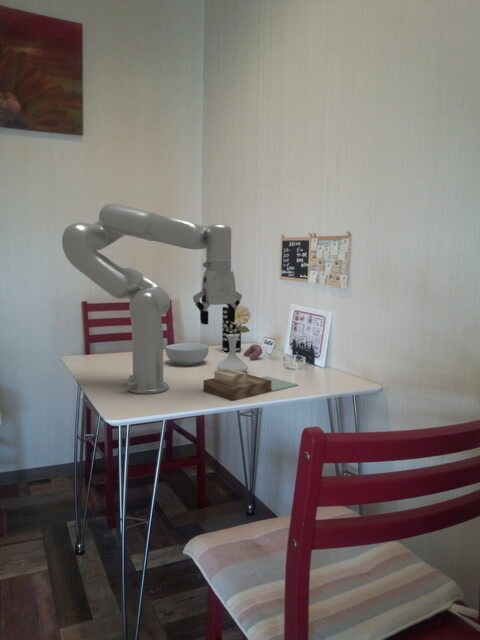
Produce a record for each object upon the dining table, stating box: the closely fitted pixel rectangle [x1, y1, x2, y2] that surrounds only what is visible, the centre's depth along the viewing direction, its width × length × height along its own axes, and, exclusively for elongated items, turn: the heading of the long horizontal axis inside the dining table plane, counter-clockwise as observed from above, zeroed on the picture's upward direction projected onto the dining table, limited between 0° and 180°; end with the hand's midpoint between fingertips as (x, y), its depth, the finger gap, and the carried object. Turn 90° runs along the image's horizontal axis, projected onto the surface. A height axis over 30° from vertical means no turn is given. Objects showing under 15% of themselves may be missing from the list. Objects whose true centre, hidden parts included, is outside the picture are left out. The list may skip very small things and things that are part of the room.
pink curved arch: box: [243, 343, 263, 361], centre depth 203 cm, size 10×5×7 cm, turn 17°
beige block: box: [214, 369, 247, 386], centre depth 149 cm, size 6×8×3 cm
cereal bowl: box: [165, 342, 210, 366], centre depth 192 cm, size 17×17×7 cm
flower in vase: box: [216, 304, 252, 373], centre depth 175 cm, size 13×11×25 cm
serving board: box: [203, 373, 272, 401], centre depth 151 cm, size 16×14×4 cm
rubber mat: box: [260, 375, 299, 393], centre depth 161 cm, size 12×15×1 cm
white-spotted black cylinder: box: [221, 306, 242, 353], centre depth 217 cm, size 8×8×20 cm
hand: (217, 322), depth 148 cm, fingers open, 9 cm apart
